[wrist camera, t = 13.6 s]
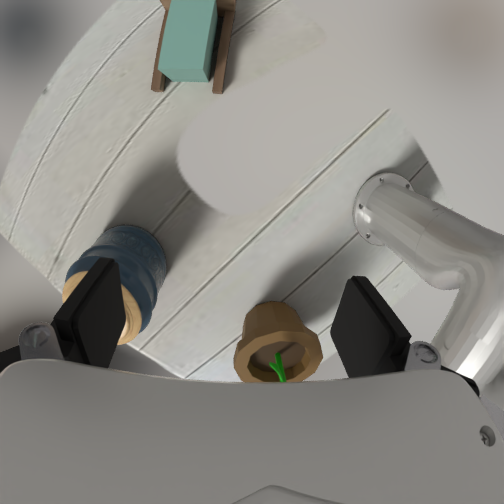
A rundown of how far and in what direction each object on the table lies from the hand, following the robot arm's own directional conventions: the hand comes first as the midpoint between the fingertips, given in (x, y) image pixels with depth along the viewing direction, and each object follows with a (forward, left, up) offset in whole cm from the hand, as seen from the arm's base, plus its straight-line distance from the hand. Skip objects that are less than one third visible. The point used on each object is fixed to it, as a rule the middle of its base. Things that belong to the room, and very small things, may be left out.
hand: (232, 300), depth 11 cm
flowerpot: (-10, +26, -31) cm, 41 cm away
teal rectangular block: (+7, -18, -30) cm, 36 cm away
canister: (+15, +15, -31) cm, 37 cm away
